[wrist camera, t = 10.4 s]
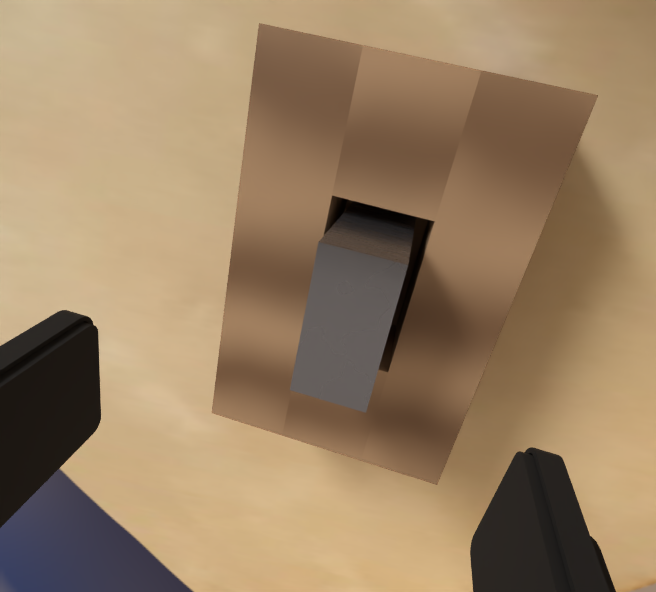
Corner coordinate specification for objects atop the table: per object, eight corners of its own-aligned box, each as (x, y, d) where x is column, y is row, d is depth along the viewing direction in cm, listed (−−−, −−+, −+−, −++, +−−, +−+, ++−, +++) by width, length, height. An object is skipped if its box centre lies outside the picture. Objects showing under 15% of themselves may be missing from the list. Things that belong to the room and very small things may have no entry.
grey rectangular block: (359, 195, 23) (318, 241, 15) (417, 208, 23) (408, 265, 15) (335, 300, 26) (289, 390, 17) (388, 314, 25) (366, 412, 17)
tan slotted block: (307, 46, 23) (259, 23, 17) (550, 99, 22) (598, 95, 15) (258, 349, 30) (211, 412, 24) (436, 402, 29) (437, 484, 23)
